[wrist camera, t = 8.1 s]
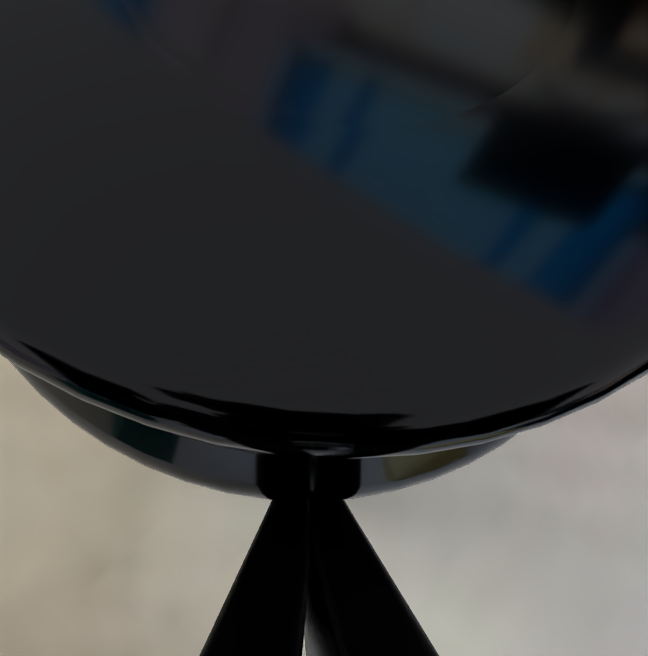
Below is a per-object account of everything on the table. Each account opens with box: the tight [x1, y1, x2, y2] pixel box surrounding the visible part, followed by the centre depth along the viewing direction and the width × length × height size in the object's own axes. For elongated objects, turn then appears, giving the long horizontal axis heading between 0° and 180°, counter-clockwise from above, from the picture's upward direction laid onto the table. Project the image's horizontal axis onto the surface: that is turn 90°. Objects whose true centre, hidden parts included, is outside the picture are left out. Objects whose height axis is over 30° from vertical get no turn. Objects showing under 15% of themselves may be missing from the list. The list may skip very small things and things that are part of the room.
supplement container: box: [0, 0, 648, 501], centre depth 11 cm, size 10×10×12 cm
